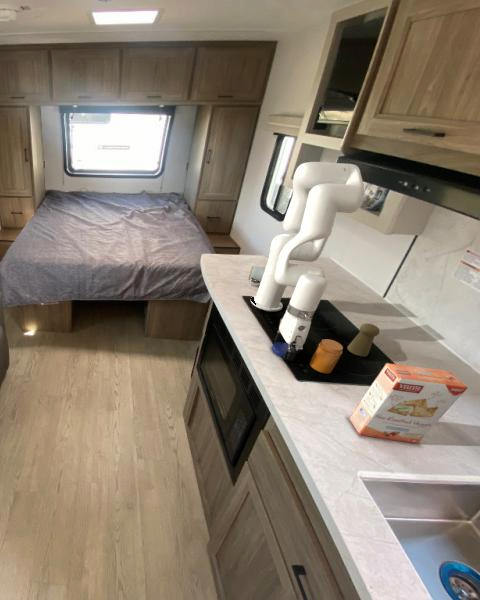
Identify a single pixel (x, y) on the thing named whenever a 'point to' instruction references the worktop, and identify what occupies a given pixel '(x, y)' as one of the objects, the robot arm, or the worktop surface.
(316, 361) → the jar
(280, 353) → the lid
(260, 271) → the ceramic mug
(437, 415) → the cracker box
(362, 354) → the cork
